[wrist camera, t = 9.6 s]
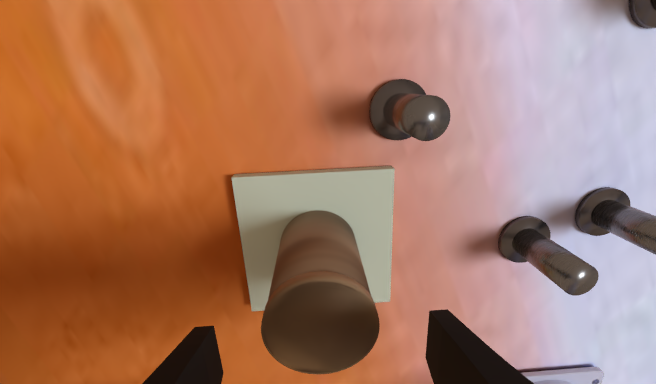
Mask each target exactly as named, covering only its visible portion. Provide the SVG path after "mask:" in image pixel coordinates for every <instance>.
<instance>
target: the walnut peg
mask: <svg viewBox="0 0 656 384" xmlns="http://www.w3.org/2000/svg"><path fill="white" fill-rule="evenodd" d="M261 334H262V338H263V342H264V344H265V346H266V348H267V350H268V351H269V353H270V354H271V355H272V356H273V357H274V358H275V359H276V360H277V361H278V362H280V363H281V364H283V365H284V366H286V367H288V368H290V369H293V370H295V371H299V372H302V373H308V374H329V373H334V372H338V371H341V370H344V369H347V368H349V367H351V366H353V365H355V364H356V363H358V362H359V361H360V360H362V359H363V358H364V357H365V356H366V355H367V354H368V353H369V352H370V351H371V349H372V348H373V346H374V344H375V342H376V340H377V337H378V334H379V317H378V313H377V310H376V306H375V303H374V301H373V298H372V297H371V293H370V290H369V286H368V283H367V279H366V275H365V272H364V268H363V265H362V261H361V257H360V254H359V250H358V247H357V243H356V239H355V236H354V233H353V230H352V228H351V227H350V225H349V224H348V223H347V222H346V221H345V220H344V219H343V218H342V217H340V216H338V215H337V214H334V213H332V212H328V211H322V210H315V211H309V212H305V213H302V214H300V215H298V216H297V217H295V218H294V219H292V220H291V221H290V222H289V223H288V225H287V226H286V227H285V229H284V231H283V233H282V236H281V240H280V245H279V250H278V255H277V259H276V264H275V269H274V274H273V278H272V283H271V288H270V292H269V297H268V301H267V304H266V306H265V310H264V314H263V319H262V325H261Z"/></svg>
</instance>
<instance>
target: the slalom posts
mask: <svg viewBox="0 0 656 384" xmlns="http://www.w3.org/2000/svg"><path fill="white" fill-rule="evenodd" d="M630 12H631V16H632V18H633V19H634V21H635V22H636V23H637V24H638V25H640V26H642V27H645V28H656V0H630ZM369 113H370V120H371V123H372V125H373V127H374V128H375V130H376V131H377V132H378V133H379V134H381V135H382V136H384V137H386V138H388V139H391V140H403V139H407V138H410V137H411V136H412V137H414V138H416V139H418V140H421V141H430V140H434V139H436V138H438V137H439V136H441V135H442V134H443V133H444V132H445V130H446V129H447V127H448V125H449V121H450V110H449V107H448V105H447V104H446V102H445V101H444V100H443V99H441V98H439V97H437V96H432V95H426V93H425V92H424V90H423V89H422V88H421V87H420V86H419V85H418V84H417V83H415V82H413V81H410V80H405V79H399V80H393V81H390V82H388V83H386V84H384V85H383V86H381V87H380V88H379V89H378V90H377V92H376V93H375V94H374V96H373V98H372V100H371V104H370V110H369ZM576 223H577V226H578V227H579V228H580V229H581V230H582V231H584V232H586V233H588V234H590V235H595V236H599V235H605V234H608V233H610V232H611V233H613V234H615V235H617V236H619V237H621V238H623V239H625V240H627V241H629V242H631V243H633V244H635V245H637V246H639V247H641V248H643V249H645V250H647V251H649V252H651V253H653V254H656V216H654V215H651V214H649V213H646V212H643V211H641V210H638V209H636V208H633V207H630V200H629V197H628V196H627V195H626V193H624V192H623V191H621V190H618V189H615V188H610V187H607V188H601V189H598V190H595V191H593V192H592V193H590V194H589V195H587V196H586V197H585V198H584V199H583V200H582V202H581V203H580V205H579V206H578V209H577V211H576ZM498 244H499V249H500V251H501V253H502V254H503V255H504V256H505V257H506V258H507V259H509V260H511V261H513V262H527V261H528V262H529V263H531V264H532V265H533V266H534V267H536V268H537V269H538V270H539V271H540V272H542V273H543V274H544V275H545V276H547V277H548V278H549V279H550V280H552V281H553V282H554V283H555V284H557V285H558V286H559V287H560V288H561V289H563V290H564V291H565V292H566V293H568V294H570V295H581V294H584V293H586V292H588V291H589V290H591V289H592V288H593V287H594V286H595V284H596V283H597V280H598V272H597V270H596V269H595V268H594V267H592V266H591V265H589V264H588V263H586V262H585V261H583V260H582V259H580V258H578V257H577V256H575V255H574V254H572V253H571V252H569V251H568V250H566V249H564V248H563V247H561V246H560V245H558V244H557V243H555V242H554V241H552V240H550V230H549V227H548V226H547V224H546V223H545V222H543V221H541V220H540V219H538V218H536V217H531V216H525V217H520V218H517V219H515V220H513V221H512V222H510V223H509V224H508V225H507V226H506V227H505V228H504V229H503V231H502V232H501V234H500V237H499V242H498Z"/></svg>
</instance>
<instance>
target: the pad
mask: <svg viewBox="0 0 656 384" xmlns="http://www.w3.org/2000/svg"><path fill="white" fill-rule="evenodd" d="M232 185H233V191H234V198H235V204H236V211H237V217H238V224H239V230H240V237H241V243H242V250H243V256H244V263H245V269H246V276H247V282H248V289H249V295H250V302H251V308H252V311H264V310H265V306H266V304H267V301H268V297H269V292H270V288H271V283H272V278H273V274H274V269H275V264H276V259H277V255H278V250H279V245H280V240H281V236H282V233H283V231H284V229H285V227H286V226H287V225H288V223H289V222H290V221H291V220H292V219H294V218H295V217H297V216H298V215H300V214H302V213H305V212H309V211H315V210H322V211H328V212H332V213H334V214H337V215H338V216H340V217H342V218H343V219H344V220H345V221H346V222H347V223H348V224H349V225H350V227H351V228H352V230H353V233H354V236H355V239H356V243H357V247H358V250H359V254H360V257H361V261H362V265H363V268H364V272H365V275H366V279H367V283H368V286H369V290H370V293H371V297H372V298H373V301H374V303H376V302H390V291H391V260H392V229H393V198H394V168H393V167H392V166H377V167H358V168H340V169H322V170H303V171H285V172H266V173H248V174H234V175H233V176H232Z"/></svg>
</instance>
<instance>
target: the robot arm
mask: <svg viewBox="0 0 656 384" xmlns="http://www.w3.org/2000/svg"><path fill="white" fill-rule="evenodd" d="M426 360H427V363H428V367H429V370H430V373H431V376H432V379H433V382H434V384H601V383H602V380H603V377H604V373H603V371H602V370H601V369H600V368H598V367H584V368H572V369H560V370H548V371H535V372H523V373H520V372H519V371H517V370H516V369H515V368H514V367H513V366H511V365H510V364H509V363H508V362H506V361H505V360H504V359H503V358H502V357H500V356H499V355H498V354H497V353H496V352H495V351H493V350H492V349H491V348H490V347H489V346H488V345H486V344H485V343H484V342H483V341H482V340H481V339H480V338H479V337H477V336H476V335H475V334H474V333H473V332H472V331H471V330H470V329H469V328H467V327H466V326H465V325H464V324H463V323H462V322H461V321H460V320H459V319H457V318H456V317H455V316H454V315H453V314H452V313H451V312H450V311H449V310H434V311H429V323H428V335H427V347H426ZM222 377H223V369H222V364H221V359H220V354H219V349H218V344H217V340H216V335H215V330H214V326H204V327H195V328H194V329H193V330H192V331H191V332H190V333H189V334H188V335H187V336H186V337H185V338H184V339H183V340H182V342H181V343H180V344H179V345H178V346H177V347H176V348H175V349H174V350H173V351H172V353H171V354H170V355H169V356H168V357H167V358H166V359H165V360H164V361H163V362H162V363H161V364H160V366H159V367H158V368H157V369H156V370H155V371H154V372H153V373H152V374H151V375H150V376H149V377H148V378H147V379H146V380H145V381H144V382H143V384H221V382H222Z"/></svg>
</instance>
